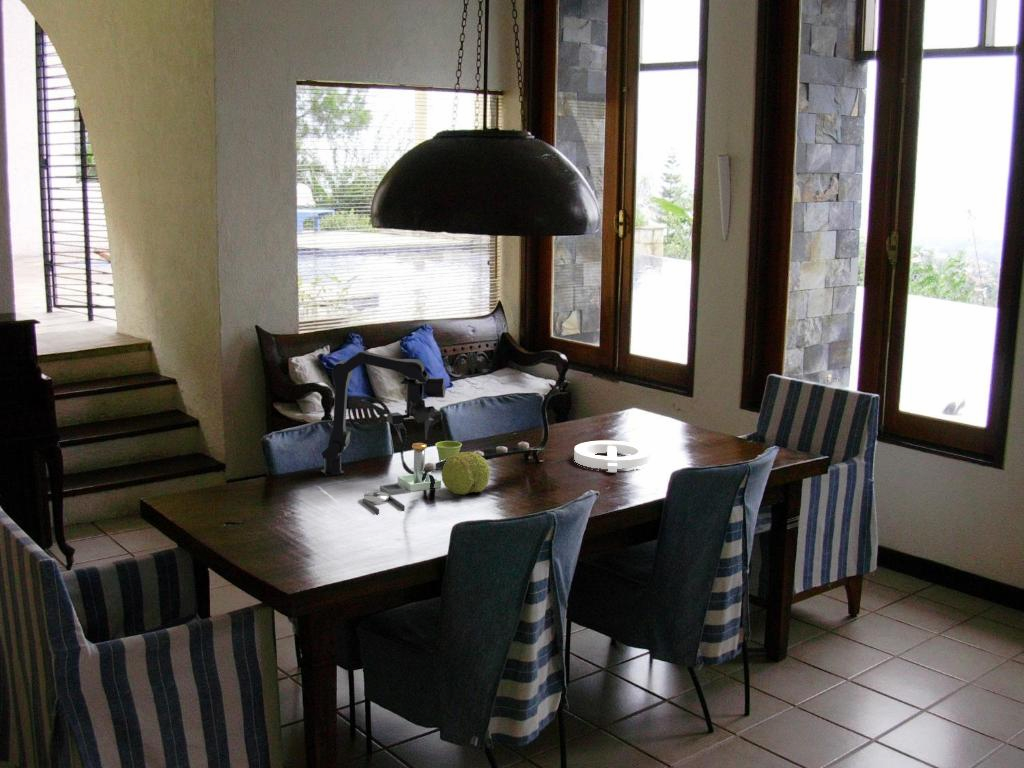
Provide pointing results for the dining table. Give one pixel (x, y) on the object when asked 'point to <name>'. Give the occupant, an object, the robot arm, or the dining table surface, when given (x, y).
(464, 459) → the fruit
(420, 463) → the lock pin
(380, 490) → the tensioner base
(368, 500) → the grey forked bracket
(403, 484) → the tray
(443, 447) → the plant pot
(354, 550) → the dining table surface
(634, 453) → the ring with crossbar
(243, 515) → the dining table surface
